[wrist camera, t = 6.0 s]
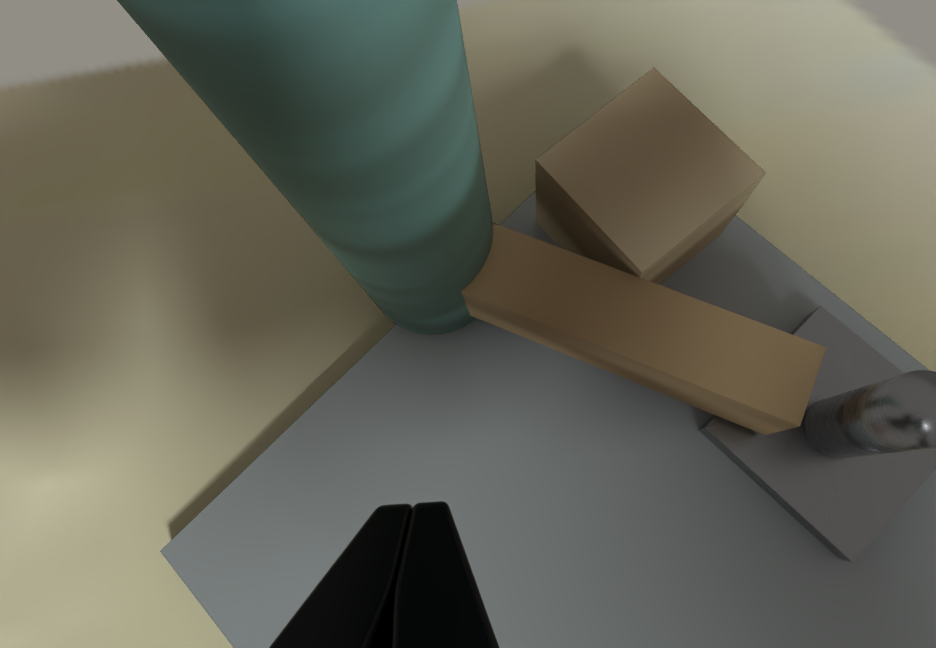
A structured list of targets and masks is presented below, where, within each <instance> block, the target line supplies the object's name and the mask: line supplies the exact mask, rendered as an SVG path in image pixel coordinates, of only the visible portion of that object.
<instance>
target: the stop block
mask: <svg viewBox="0 0 936 648" xmlns="http://www.w3.org/2000/svg"><path fill="white" fill-rule="evenodd" d="M765 173H766V172H765V171H764V170H763V169H761V168H760V167H759V166H758V165H757V164H756V163H755V162H754V161H753V160H752V159H751V158H750V157H749V156H748V155H747V154H745V153H744V152H743V151H742V150H741V149H740V148H739V147H738V146H737V145H736V144H735V143H734V142H733V141H732V140H731V139H729V138H728V137H727V136H726V135H725V134H724V133H723V132H722V131H721V130H720V129H719V128H718V127H717V126H716V125H715V124H714V123H712V122H711V121H710V120H709V119H708V118H707V117H706V116H705V115H704V114H703V113H702V112H701V111H700V110H699V109H698V108H696V107H695V106H694V105H693V104H692V103H691V102H690V101H689V100H688V99H687V98H686V97H685V96H684V95H683V94H682V93H680V92H679V91H678V90H677V89H676V88H675V87H674V86H673V85H672V84H671V83H670V82H669V81H668V80H667V79H666V78H665V77H663V76H662V75H661V74H660V73H659V72H658V71H657V70H656V69H655V68H653V69H651V70H650V71H649V72H648V73H646V74H645V75H644V76H642V77H641V78H640V79H639V80H637V81H636V82H635V83H633V84H632V85H631V86H630V87H628V88H627V89H626V90H624V91H623V92H622V93H621V94H619V95H618V96H617V97H615V98H614V99H613V100H612V101H610V102H609V103H608V104H606V105H605V106H604V107H603V108H601V109H600V110H599V111H597V112H596V113H595V114H594V115H592V116H591V117H590V118H588V119H587V120H586V121H585V122H583V123H582V124H581V125H579V126H578V127H577V128H576V129H574V130H573V131H572V132H570V133H569V134H568V135H567V136H565V137H564V138H563V139H561V140H560V141H559V142H557V143H556V144H555V145H554V146H552V147H551V148H550V149H548V150H547V151H546V152H545V153H543V154H542V155H541V156H539V157H538V158H537V159H536V222H537V223H538V224H539V225H540V226H541V228H542V229H543V230H544V231H545V232H546V233H547V234H548V235H549V236H550V237H551V238H552V240H553V241H554V242H555V243H556V244H557V245H558V246H559V247H560V248H562V249H565V250H567V251H570V252H573V253H575V254H578V255H581V256H583V257H586V258H589V259H592V260H594V261H597V262H600V263H602V264H605V265H608V266H610V267H613V268H616V269H618V270H621V271H624V272H626V273H629V274H632V275H634V276H637V277H640V278H642V279H645V280H648V281H650V282H653V283H656V284H658V285H659V284H661V283H662V282H663V281H664V280H666V279H667V278H668V277H669V276H671V275H672V274H673V273H674V272H675V271H677V270H678V269H679V268H680V267H682V266H683V265H684V264H685V263H687V262H688V261H689V260H690V259H691V258H693V257H694V256H695V255H696V254H698V253H699V252H700V251H701V250H703V249H704V248H705V247H706V246H708V245H709V244H710V243H711V242H712V241H714V240H715V239H716V238H717V237H719V236H720V235H721V234H722V233H723V231H724V230H725V229H726V227H727V226H728V225H729V223H730V222H731V220H732V219H733V218H734V216H735V215H736V213H737V212H738V211H739V209H740V208H741V206H742V205H743V204H744V202H745V201H746V200H747V198H748V197H749V195H750V194H751V193H752V191H753V190H754V188H755V187H756V186H757V184H758V183H759V181H760V180H761V179H762V177H763V176H764V175H765Z"/></svg>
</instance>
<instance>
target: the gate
mask: <svg viewBox="0 0 936 648" xmlns="http://www.w3.org/2000/svg"><path fill="white" fill-rule="evenodd" d="M117 1H118V2H119V3H120V4H121V5H122V7H123V8H124V9H125V10H126V11H127V12H128V14H129V15H130V16H131V17H132V18H133V19H134V21H135V22H136V23H137V24H138V25H139V26H140V27H141V29H142V30H143V31H144V32H145V34H147V36H148V37H149V38H150V39H151V41H152V42H153V43H154V44H155V45H156V46H157V48H158V49H159V50H160V51H161V52H162V53H163V55H164V56H165V57H166V58H167V59H168V61H169V62H170V63H171V64H172V65H173V66H174V68H175V69H176V70H177V71H178V72H179V73H180V75H181V76H182V77H183V78H184V79H185V80H186V82H187V83H188V84H189V85H190V86H191V87H192V89H193V90H194V91H195V92H196V93H197V95H198V96H199V97H200V98H201V99H202V100H203V102H204V103H205V104H206V105H207V106H208V107H209V109H210V110H211V111H212V112H213V113H214V114H215V116H216V117H217V118H218V119H219V120H220V121H221V123H222V124H223V125H224V126H225V127H226V129H227V130H228V131H229V132H230V133H231V134H232V136H233V137H234V138H235V139H236V140H237V141H238V143H239V144H240V145H241V146H242V147H243V148H244V150H245V151H246V152H247V153H248V154H249V156H250V157H251V158H252V159H253V160H254V161H255V163H256V164H257V165H258V166H259V167H260V168H261V170H262V171H263V172H264V173H265V174H266V175H267V177H268V178H269V179H270V180H271V181H272V182H273V184H274V185H275V186H276V187H277V188H278V190H279V191H280V192H281V193H282V194H283V195H284V197H285V198H286V199H287V200H288V201H289V202H290V204H291V205H292V206H293V207H294V208H295V209H296V211H297V212H298V213H299V214H300V215H301V217H302V218H303V219H304V220H305V221H306V222H307V224H308V225H309V226H310V227H311V228H312V229H313V231H314V232H315V233H316V234H317V235H318V236H319V238H320V239H321V240H322V241H323V242H324V243H325V245H326V246H327V247H328V248H329V249H330V251H331V252H332V253H333V254H334V255H335V256H336V258H337V259H338V260H339V261H340V262H341V263H342V265H343V266H344V267H345V268H346V269H347V270H348V272H349V273H350V274H351V275H352V276H353V278H354V279H355V280H356V281H357V282H358V283H359V285H360V286H361V287H362V288H363V289H364V290H365V292H366V293H367V294H368V295H369V296H370V297H371V299H372V300H373V301H374V302H375V303H376V304H377V306H378V307H379V308H380V309H381V310H382V312H383V313H384V314H385V315H386V316H387V317H388V318H389V319H390V320H391V321H393V322H394V323H395V324H397V325H398V326H400V327H402V328H404V329H406V330H409V331H412V332H415V333H420V334H429V335H434V334H443V333H449V332H452V331H455V330H458V329H460V328H462V327H464V326H466V325H467V324H469V323H471V322H472V321H473V320H475V319H476V318H478V319H480V320H483V321H485V322H488V323H490V324H492V325H495V326H497V327H500V328H502V329H505V330H507V331H510V332H512V333H515V334H517V335H520V336H522V337H524V338H527V339H529V340H532V341H534V342H537V343H539V344H542V345H544V346H547V347H549V348H552V349H554V350H556V351H559V352H561V353H564V354H566V355H569V356H571V357H574V358H576V359H579V360H581V361H584V362H586V363H588V364H591V365H593V366H596V367H598V368H601V369H603V370H606V371H608V372H611V373H613V374H615V375H618V376H620V377H623V378H625V379H628V380H630V381H633V382H635V383H638V384H640V385H643V386H645V387H647V388H650V389H652V390H655V391H657V392H660V393H662V394H665V395H667V396H670V397H672V398H675V399H677V400H679V401H682V402H684V403H687V404H689V405H692V406H694V407H697V408H699V409H702V410H704V411H707V412H709V413H711V414H714V415H716V416H719V417H721V418H724V419H726V420H729V421H731V422H734V423H736V424H739V425H741V426H743V427H746V428H748V429H751V430H753V431H756V432H758V433H761V434H763V435H767V434H771V433H775V432H779V431H783V430H787V429H792V428H796V427H800V425H801V422H802V419H803V416H804V413H805V410H806V407H807V404H808V401H809V398H810V395H811V392H812V389H813V386H814V383H815V380H816V377H817V374H818V371H819V368H820V365H821V362H822V359H823V356H824V353H825V350H826V347H824V346H821V345H819V344H816V343H813V342H811V341H808V340H805V339H803V338H800V337H797V336H795V335H792V334H789V333H787V332H784V331H781V330H778V329H776V328H773V327H770V326H768V325H765V324H762V323H760V322H757V321H754V320H752V319H749V318H746V317H744V316H741V315H738V314H736V313H733V312H730V311H728V310H725V309H722V308H720V307H717V306H714V305H712V304H709V303H706V302H704V301H701V300H698V299H696V298H693V297H690V296H688V295H685V294H682V293H680V292H677V291H674V290H672V289H669V288H666V287H664V286H661V285H658V284H656V283H653V282H650V281H648V280H645V279H642V278H640V277H637V276H634V275H632V274H629V273H626V272H624V271H621V270H618V269H616V268H613V267H610V266H608V265H605V264H602V263H600V262H597V261H594V260H592V259H589V258H586V257H583V256H581V255H578V254H575V253H573V252H570V251H567V250H565V249H562V248H559V247H557V246H554V245H551V244H549V243H546V242H543V241H541V240H538V239H535V238H533V237H530V236H527V235H525V234H522V233H519V232H517V231H514V230H511V229H509V228H506V227H503V226H501V225H498V224H495V223H493V222H492V216H491V209H490V203H489V197H488V191H487V185H486V179H485V172H484V166H483V160H482V154H481V148H480V141H479V135H478V129H477V123H476V117H475V111H474V104H473V98H472V92H471V86H470V80H469V73H468V67H467V61H466V55H465V49H464V42H463V36H462V30H461V24H460V18H459V12H458V5H457V0H117Z"/></svg>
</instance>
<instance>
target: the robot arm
mask: <svg viewBox="0 0 936 648" xmlns="http://www.w3.org/2000/svg"><path fill="white" fill-rule="evenodd" d="M269 648H499V645H498V642H497V639H496V636H495V634H494V631H493V628H492V625H491V622H490V620H489V617H488V614H487V611H486V608H485V606H484V603H483V600H482V597H481V594H480V592H479V589H478V586H477V583H476V580H475V577H474V575H473V572H472V569H471V566H470V563H469V561H468V558H467V555H466V552H465V549H464V547H463V544H462V541H461V538H460V535H459V533H458V530H457V527H456V524H455V521H454V519H453V516H452V513H451V510H450V508H449V505H448V504H447V503H446V502H444V501H438V502H422V503H417V504H415V505H414V507H413V506H412V505H410V504H391V505H381V506H379V507H378V508H376V509H375V511H374V512H373V513H372V514H371V516H370V517H369V518H368V520H367V521H366V522H365V523H364V525H363V526H362V527H361V529H360V530H359V531H358V533H357V534H356V535H355V536H354V538H353V539H352V540H351V542H350V543H349V544H348V546H347V547H346V548H345V549H344V551H343V552H342V553H341V555H340V556H339V557H338V559H337V560H336V561H335V562H334V564H333V565H332V566H331V568H330V569H329V570H328V572H327V573H326V574H325V575H324V577H323V578H322V579H321V581H320V582H319V583H318V585H317V586H316V587H315V588H314V590H313V591H312V592H311V594H310V595H309V596H308V597H307V599H306V600H305V601H304V603H303V604H302V605H301V607H300V608H299V609H298V610H297V612H296V613H295V614H294V616H293V617H292V618H291V620H290V621H289V622H288V623H287V625H286V626H285V627H284V629H283V630H282V631H281V633H280V634H279V635H278V636H277V638H276V639H275V640H274V642H273V643H272V644H271V646H270V647H269Z"/></svg>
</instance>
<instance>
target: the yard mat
mask: <svg viewBox="0 0 936 648" xmlns="http://www.w3.org/2000/svg"><path fill="white" fill-rule="evenodd" d="M500 225H501V226H503V227H506V228H509V229H511V230H514V231H517V232H519V233H522V234H525V235H527V236H530V237H533V238H535V239H538V240H541V241H543V242H546V243H549V244H551V245H554V246H557V247H559V246H558V245H557V244H556V243H555V242H554V241H553V240H552V238H551V237H550V236H549V235H548V234H547V233H546V232H545V231H544V230H543V229H542V228H541V226H540V225H539V224H538V223H537V222H536V191H535V192H534V193H533V194H532V195H531V196H530V197H528V198H527V199H526V200H525V201H524V202H523V203H522V204H521V205H520V206H519V207H518V208H517V209H516V210H515V211H514V212H513V213H512V214H511V215H510V216H509V217H508V218H507V219H506V220H505V221H503V222H502V223H501V224H500ZM559 248H560V247H559ZM659 285H661V286H664V287H666V288H669V289H672V290H674V291H677V292H680V293H682V294H685V295H688V296H690V297H693V298H696V299H698V300H701V301H704V302H706V303H709V304H712V305H714V306H717V307H720V308H722V309H725V310H728V311H730V312H733V313H736V314H738V315H741V316H744V317H746V318H749V319H752V320H754V321H757V322H760V323H762V324H765V325H768V326H770V327H773V328H776V329H778V330H781V331H784V332H787V333H789V334H790V333H791V332H792V331H793V330H794V329H795V328H796V327H797V326H798V325H799V324H800V323H801V322H802V321H803V320H804V318H805V317H806V316H807V315H808V314H809V313H811V312H812V311H814V310H815V309H817V308H818V307H820V306H822V307H823V308H824V309H826V310H827V311H828V312H829V313H831V314H832V315H833V316H834V317H835V318H837V319H838V320H839V321H840V322H842V323H843V324H844V325H845V326H847V327H848V328H849V329H850V330H852V331H853V332H854V333H855V334H856V335H858V336H859V337H860V338H861V339H863V340H864V341H865V342H866V343H868V344H869V345H870V346H871V347H872V348H874V349H875V350H876V351H877V352H879V353H880V354H881V355H882V356H884V357H885V358H886V359H887V360H889V361H890V362H891V363H892V364H893V365H895V366H896V367H897V368H898V369H900V370H901V371H902V372H903V373H907V372H910V371H915V370H928V369H927V368H926V367H925V366H923V365H922V364H921V363H920V362H918V361H917V360H916V359H915V358H913V357H912V356H911V355H910V354H908V353H907V352H906V351H905V350H903V349H902V348H901V347H900V346H898V345H897V344H896V343H895V342H893V341H892V340H891V339H890V338H888V337H887V336H886V335H885V334H883V333H882V332H881V331H880V330H878V329H877V328H876V327H875V326H873V325H872V324H871V323H870V322H868V321H867V320H866V319H865V318H863V317H862V316H861V315H860V314H858V313H857V312H856V311H855V310H853V309H852V308H851V307H850V306H848V305H847V304H846V303H845V302H843V301H842V300H841V299H840V298H838V297H837V296H836V295H835V294H833V293H832V292H831V291H830V290H828V289H827V288H826V287H825V286H823V285H822V284H821V283H820V282H818V281H817V280H816V279H815V278H813V277H812V276H811V275H810V274H808V273H807V272H806V271H805V270H803V269H802V268H801V267H800V266H798V265H797V264H796V263H795V262H793V261H792V260H791V259H790V258H788V257H787V256H786V255H785V254H783V253H782V252H781V251H780V250H778V249H777V248H776V247H775V246H773V245H772V244H771V243H770V242H768V241H767V240H766V239H765V238H763V237H762V236H761V235H760V234H758V233H757V232H756V231H755V230H753V229H752V228H751V227H750V226H748V225H747V224H746V223H745V222H743V221H742V220H741V219H740V218H738V217H737V216H736V215H735V216H734V218H733V219H732V220H731V222H730V223H729V225H728V226H727V227H726V229H725V230H724V231H723V233H722V234H721V235H720V236H719V237H717V238H716V239H715V240H714V241H712V242H711V243H710V244H709V245H708V246H706V247H705V248H704V249H703V250H701V251H700V252H699V253H698V254H696V255H695V256H694V257H693V258H691V259H690V260H689V261H688V262H687V263H685V264H684V265H683V266H682V267H680V268H679V269H678V270H677V271H675V272H674V273H673V274H672V275H671V276H669V277H668V278H667V279H666V280H664V281H663V282H662V283H661V284H659ZM929 371H930V370H929ZM712 415H713V414H711V413H709V412H707V411H704V410H702V409H699V408H697V407H694V406H692V405H689V404H687V403H684V402H682V401H679V400H677V399H675V398H672V397H670V396H667V395H665V394H662V393H660V392H657V391H655V390H652V389H650V388H647V387H645V386H643V385H640V384H638V383H635V382H633V381H630V380H628V379H625V378H623V377H620V376H618V375H615V374H613V373H611V372H608V371H606V370H603V369H601V368H598V367H596V366H593V365H591V364H588V363H586V362H584V361H581V360H579V359H576V358H574V357H571V356H569V355H566V354H564V353H561V352H559V351H556V350H554V349H552V348H549V347H547V346H544V345H542V344H539V343H537V342H534V341H532V340H529V339H527V338H524V337H522V336H520V335H517V334H515V333H512V332H510V331H507V330H505V329H502V328H500V327H497V326H495V325H492V324H490V323H488V322H485V321H483V320H480V319H478V318H476V319H475V320H473V321H472V322H471V323H469V324H467V325H466V326H464V327H462V328H460V329H458V330H455V331H452V332H449V333H443V334H434V335H429V334H420V333H415V332H412V331H409V330H406V329H404V328H402V327H400V326H398V325H397V324H396V325H395V326H394V327H393V328H392V329H391V330H390V331H389V332H388V333H387V334H386V335H385V336H384V337H383V338H382V339H381V340H380V341H378V342H377V343H376V344H375V345H374V346H373V347H372V348H371V349H370V350H369V351H368V352H367V353H366V354H365V355H364V356H363V357H362V358H361V359H360V360H359V361H358V362H357V363H356V364H354V365H353V366H352V367H351V368H350V369H349V370H348V371H347V372H346V373H345V374H344V375H343V376H342V377H341V378H340V379H339V380H338V381H337V382H336V383H335V384H334V385H333V386H332V387H331V388H329V389H328V390H327V391H326V392H325V393H324V394H323V395H322V396H321V397H320V398H319V399H318V400H317V401H316V402H315V403H314V404H313V405H312V406H311V407H310V408H309V409H308V410H307V411H306V412H304V413H303V414H302V415H301V416H300V417H299V418H298V419H297V420H296V421H295V422H294V423H293V424H292V425H291V426H290V427H289V428H288V429H287V430H286V431H285V432H284V433H283V434H282V435H281V436H279V437H278V438H277V439H276V440H275V441H274V442H273V443H272V444H271V445H270V446H269V447H268V448H267V449H266V450H265V451H264V452H263V453H262V454H261V455H260V456H259V457H258V458H257V459H256V460H254V461H253V462H252V463H251V464H250V465H249V466H248V467H247V468H246V469H245V470H244V471H243V472H242V473H241V474H240V475H239V476H238V477H237V478H236V479H235V480H234V481H233V482H232V483H231V484H229V485H228V486H227V487H226V488H225V489H224V490H223V491H222V492H221V493H220V494H219V495H218V496H217V497H216V498H215V499H214V500H213V501H212V502H211V503H210V504H209V505H208V506H207V507H206V508H204V509H203V510H202V511H201V512H200V513H199V514H198V515H197V516H196V517H195V518H194V519H193V520H192V521H191V522H190V523H189V524H188V525H187V526H186V527H185V528H184V529H183V530H182V531H181V532H179V533H178V534H177V535H176V536H175V537H174V538H173V539H172V540H171V541H170V542H169V543H168V544H167V545H166V546H165V547H164V548H163V549H162V550H161V551H160V552H161V553H162V554H163V556H164V557H165V558H166V560H167V561H168V562H169V563H170V565H171V566H172V567H173V569H174V570H175V571H176V573H177V574H178V575H179V577H180V578H181V579H182V581H183V582H184V583H185V584H186V586H187V587H188V588H189V590H190V591H191V592H192V594H193V595H194V596H195V598H196V599H197V600H198V601H199V603H200V604H201V605H202V607H203V608H204V609H205V611H206V612H207V613H208V615H209V616H210V617H211V619H212V620H213V621H214V622H215V624H216V625H217V626H218V628H219V629H220V630H221V632H222V633H223V634H224V636H225V637H226V638H227V640H228V641H229V642H230V643H231V645H232V646H233V647H234V648H269V647H270V646H271V644H272V643H273V642H274V640H275V639H276V638H277V636H278V635H279V634H280V633H281V631H282V630H283V629H284V627H285V626H286V625H287V623H288V622H289V621H290V620H291V618H292V617H293V616H294V614H295V613H296V612H297V610H298V609H299V608H300V607H301V605H302V604H303V603H304V601H305V600H306V599H307V597H308V596H309V595H310V594H311V592H312V591H313V590H314V588H315V587H316V586H317V585H318V583H319V582H320V581H321V579H322V578H323V577H324V575H325V574H326V573H327V572H328V570H329V569H330V568H331V566H332V565H333V564H334V562H335V561H336V560H337V559H338V557H339V556H340V555H341V553H342V552H343V551H344V549H345V548H346V547H347V546H348V544H349V543H350V542H351V540H352V539H353V538H354V536H355V535H356V534H357V533H358V531H359V530H360V529H361V527H362V526H363V525H364V523H365V522H366V521H367V520H368V518H369V517H370V516H371V514H372V513H373V512H374V511H375V509H376V508H378V507H379V506H381V505H391V504H410V505H412V506H413V507H414V505H415V504H417V503H422V502H438V501H444V502H446V503H447V504H448V505H449V508H450V510H451V513H452V516H453V519H454V521H455V524H456V527H457V530H458V533H459V535H460V538H461V541H462V544H463V547H464V549H465V552H466V555H467V558H468V561H469V563H470V566H471V569H472V572H473V575H474V577H475V580H476V583H477V586H478V589H479V592H480V594H481V597H482V600H483V603H484V606H485V608H486V611H487V614H488V617H489V620H490V622H491V625H492V628H493V631H494V634H495V636H496V639H497V642H498V645H499V648H936V470H935V471H934V472H933V473H932V474H931V475H930V476H929V477H928V478H927V480H926V481H925V482H924V483H923V484H922V485H921V486H920V487H919V489H918V490H917V491H916V492H915V493H914V494H913V495H912V496H911V498H910V499H909V500H908V501H907V502H906V503H905V504H904V505H903V507H902V508H901V509H900V510H899V511H898V512H897V513H896V514H895V516H894V517H893V518H892V519H891V520H890V521H889V522H888V523H887V525H886V526H885V527H884V528H883V529H882V530H881V531H880V532H879V534H878V535H877V536H876V537H875V538H874V539H873V540H872V541H871V543H870V544H869V545H868V546H867V547H866V548H865V549H864V550H863V551H862V553H861V554H860V555H859V556H858V557H857V558H856V559H855V560H854V562H849V561H845V560H840V559H838V558H837V557H836V556H835V555H834V554H833V553H832V552H831V551H829V550H828V549H827V548H826V547H825V546H824V545H823V544H822V543H821V542H820V541H819V540H817V539H816V538H815V537H814V536H813V535H812V534H811V533H810V532H809V531H808V530H807V529H805V528H804V527H803V526H802V525H801V524H800V523H799V522H798V521H797V520H796V519H795V518H793V517H792V516H791V515H790V514H789V513H788V512H787V511H786V510H785V509H784V508H783V507H781V506H780V505H779V504H778V503H777V502H776V501H775V500H774V499H773V498H772V497H771V496H769V495H768V494H767V493H766V492H765V491H764V490H763V489H762V488H761V487H760V486H759V485H758V484H756V483H755V482H754V481H753V480H752V479H751V478H750V477H749V476H748V475H747V474H746V473H744V472H743V471H742V470H741V469H740V468H739V467H738V466H737V465H736V464H735V463H734V462H732V461H731V460H730V459H729V458H728V457H727V456H726V455H725V454H724V453H723V452H722V451H720V450H719V449H718V448H717V447H716V446H715V445H714V444H713V443H712V442H711V441H710V440H708V439H707V438H706V437H705V436H704V435H703V434H702V433H701V432H700V431H699V429H700V428H701V427H702V426H703V425H704V424H705V423H706V422H707V421H708V419H709V418H710V417H711V416H712Z"/></svg>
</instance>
